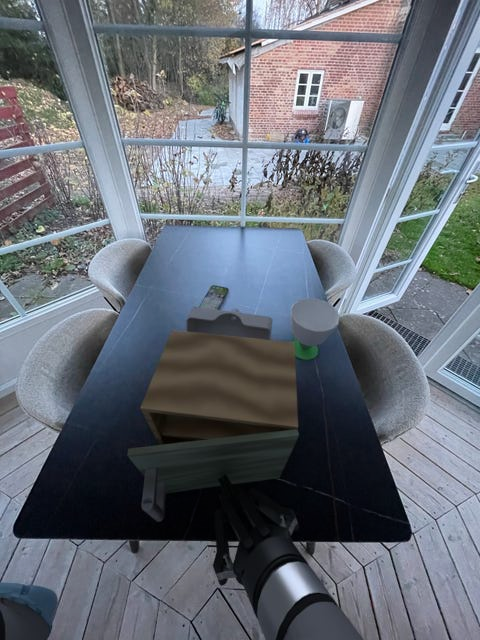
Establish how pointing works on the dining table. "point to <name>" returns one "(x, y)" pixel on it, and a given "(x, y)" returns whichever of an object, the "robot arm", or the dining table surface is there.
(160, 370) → the cupboard
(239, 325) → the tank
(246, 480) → the cupboard door
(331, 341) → the dining table surface
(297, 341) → the cup
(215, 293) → the smartphone
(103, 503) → the dining table surface
